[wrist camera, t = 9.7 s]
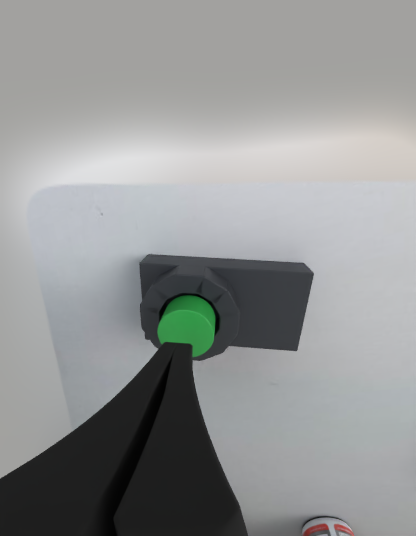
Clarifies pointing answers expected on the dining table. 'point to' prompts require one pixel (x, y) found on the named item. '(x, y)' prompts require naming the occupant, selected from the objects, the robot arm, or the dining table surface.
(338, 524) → the pill bottle
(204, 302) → the button
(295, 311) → the control block
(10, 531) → the robot arm
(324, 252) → the dining table surface
